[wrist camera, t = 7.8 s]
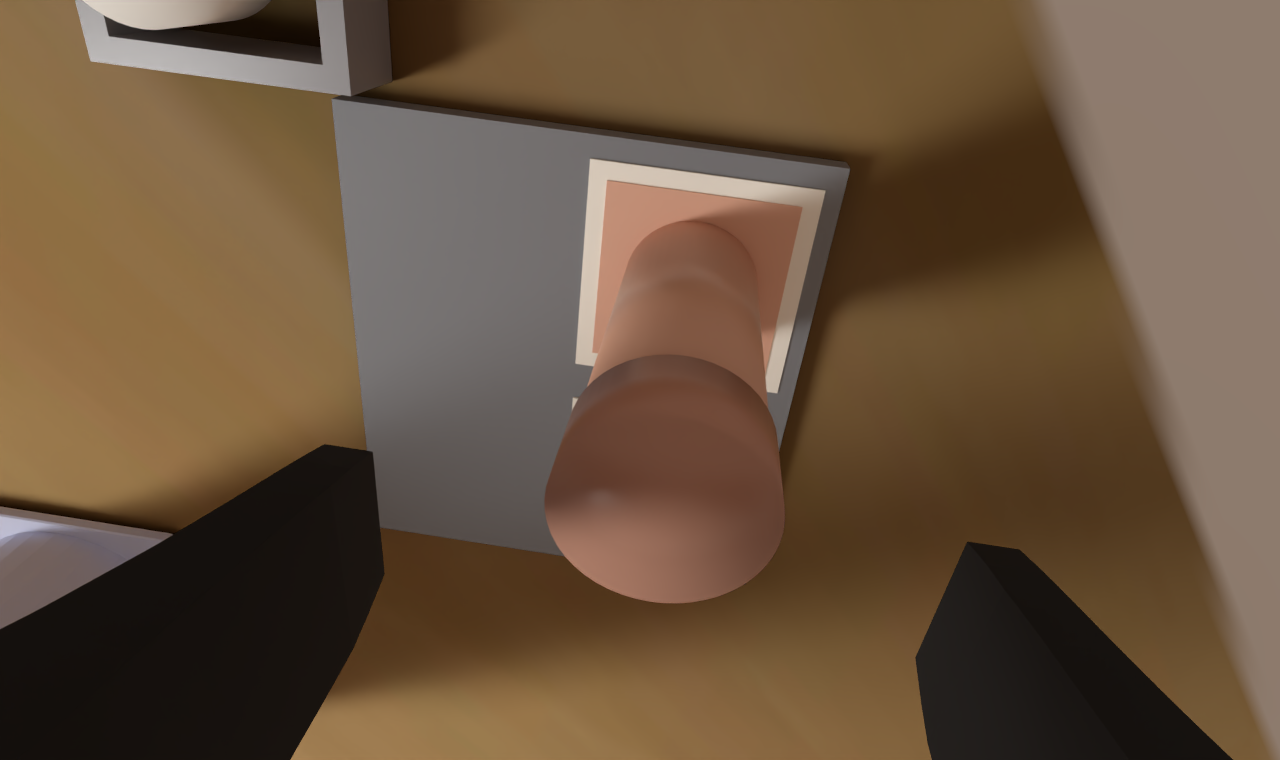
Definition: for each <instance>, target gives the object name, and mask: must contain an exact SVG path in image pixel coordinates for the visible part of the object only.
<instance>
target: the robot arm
mask: <svg viewBox="0 0 1280 760" xmlns="http://www.w3.org/2000/svg"><path fill="white" fill-rule="evenodd" d="M383 576H384V564H383V553H382V543H381V532H380V522H379V511H378V501H377V490H376V479H375V469H374V458H373V452H372V451H365V450H358V449H352V448H345V447H339V446H332V445H325V444H324V445H322V446H321V447H319V448H317V449H315V450H313V451H311V452H310V453H308V454H306V455H304V456H303V457H301V458H299V459H298V460H296V461H294V462H293V463H291V464H289V465H288V466H286V467H284V468H283V469H281V470H279V471H278V472H276V473H274V474H273V475H271V476H269V477H268V478H266V479H265V480H263V481H261V482H260V483H258V484H256V485H255V486H253V487H251V488H250V489H248V490H247V491H245V492H243V493H242V494H240V495H238V496H237V497H235V498H234V499H232V500H230V501H229V502H227V503H225V504H224V505H222V506H220V507H219V508H217V509H215V510H214V511H212V512H210V513H209V514H207V515H205V516H203V517H202V518H200V519H198V520H197V521H195V522H193V523H192V524H190V525H188V526H187V527H185V528H183V529H182V530H180V531H178V532H177V533H175V534H170V533H165V532H158V531H152V530H146V529H139V528H133V527H127V526H120V525H114V524H108V523H102V522H95V521H89V520H83V519H76V518H70V517H64V516H57V515H51V514H45V513H38V512H32V511H26V510H20V509H13V508H7V507H1V506H0V760H290V759H291V757H292V756H293V754H294V752H295V750H296V749H297V747H298V745H299V743H300V742H301V740H302V738H303V737H304V735H305V733H306V731H307V730H308V728H309V726H310V724H311V723H312V721H313V719H314V717H315V716H316V714H317V712H318V710H319V709H320V707H321V705H322V703H323V702H324V700H325V698H326V696H327V695H328V693H329V691H330V689H331V688H332V686H333V684H334V682H335V680H336V679H337V677H338V675H339V673H340V672H341V670H342V668H343V666H344V664H345V663H346V661H347V659H348V657H349V655H350V654H351V652H352V650H353V648H354V646H355V643H356V641H357V639H358V636H359V634H360V632H361V630H362V627H363V625H364V623H365V620H366V618H367V616H368V613H369V611H370V608H371V606H372V604H373V601H374V599H375V596H376V594H377V591H378V589H379V586H380V584H381V581H382V579H383ZM916 665H917V673H918V681H919V689H920V696H921V704H922V710H923V717H924V723H925V729H926V735H927V742H928V746H929V750H930V754H931V758H932V760H1233V759H1232V758H1231V757H1230V756H1228V755H1227V754H1226V753H1225V752H1224V751H1223V750H1222V749H1221V748H1220V747H1219V746H1218V745H1217V744H1216V743H1215V742H1214V741H1213V740H1212V739H1211V738H1210V737H1209V736H1207V735H1206V734H1205V733H1204V732H1203V731H1202V730H1201V729H1200V728H1199V727H1198V726H1197V725H1196V724H1195V723H1194V722H1193V721H1192V720H1191V719H1190V718H1189V717H1188V716H1187V715H1186V714H1185V713H1184V712H1183V711H1182V710H1181V709H1179V708H1178V707H1177V706H1176V705H1175V704H1174V703H1173V702H1172V701H1171V700H1170V699H1169V698H1168V697H1167V696H1166V695H1165V694H1164V693H1163V692H1162V691H1161V690H1160V689H1159V688H1158V687H1157V686H1156V685H1155V684H1154V683H1153V682H1152V681H1151V680H1150V679H1149V678H1148V677H1147V676H1146V675H1145V674H1144V673H1143V672H1142V671H1141V670H1140V669H1139V668H1138V667H1137V666H1136V665H1135V664H1134V663H1133V662H1132V661H1131V660H1130V659H1129V658H1128V657H1127V656H1126V655H1125V654H1124V653H1123V652H1122V651H1121V650H1120V649H1119V648H1118V647H1117V646H1116V645H1115V644H1114V643H1113V642H1112V641H1111V640H1110V639H1109V638H1108V637H1107V636H1106V635H1105V634H1104V633H1103V632H1102V631H1101V630H1100V629H1099V628H1098V626H1097V625H1096V624H1095V623H1094V622H1093V621H1092V620H1091V619H1090V618H1089V617H1088V616H1087V615H1086V614H1085V613H1084V612H1083V611H1082V610H1081V609H1080V608H1079V607H1078V606H1077V605H1076V604H1075V603H1074V602H1073V601H1072V600H1071V599H1070V598H1069V597H1068V596H1067V595H1066V594H1065V593H1064V592H1063V591H1062V590H1061V589H1060V588H1059V587H1058V586H1057V585H1056V584H1055V583H1054V582H1053V581H1052V580H1051V579H1050V578H1049V577H1048V576H1047V575H1046V574H1045V573H1044V572H1043V571H1042V570H1041V569H1040V568H1039V567H1038V566H1037V565H1036V564H1034V563H1033V562H1032V561H1031V560H1030V559H1029V558H1028V557H1027V556H1026V555H1025V554H1024V553H1023V552H1021V551H1020V550H1018V549H1012V548H1005V547H999V546H992V545H985V544H979V543H972V542H967V544H966V546H965V548H964V550H963V552H962V555H961V557H960V559H959V561H958V564H957V566H956V568H955V570H954V573H953V575H952V577H951V579H950V582H949V584H948V586H947V588H946V591H945V593H944V595H943V597H942V599H941V602H940V604H939V606H938V608H937V611H936V613H935V615H934V617H933V620H932V622H931V624H930V626H929V629H928V631H927V633H926V635H925V637H924V640H923V642H922V644H921V646H920V649H919V651H918V653H917V655H916Z"/></svg>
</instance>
